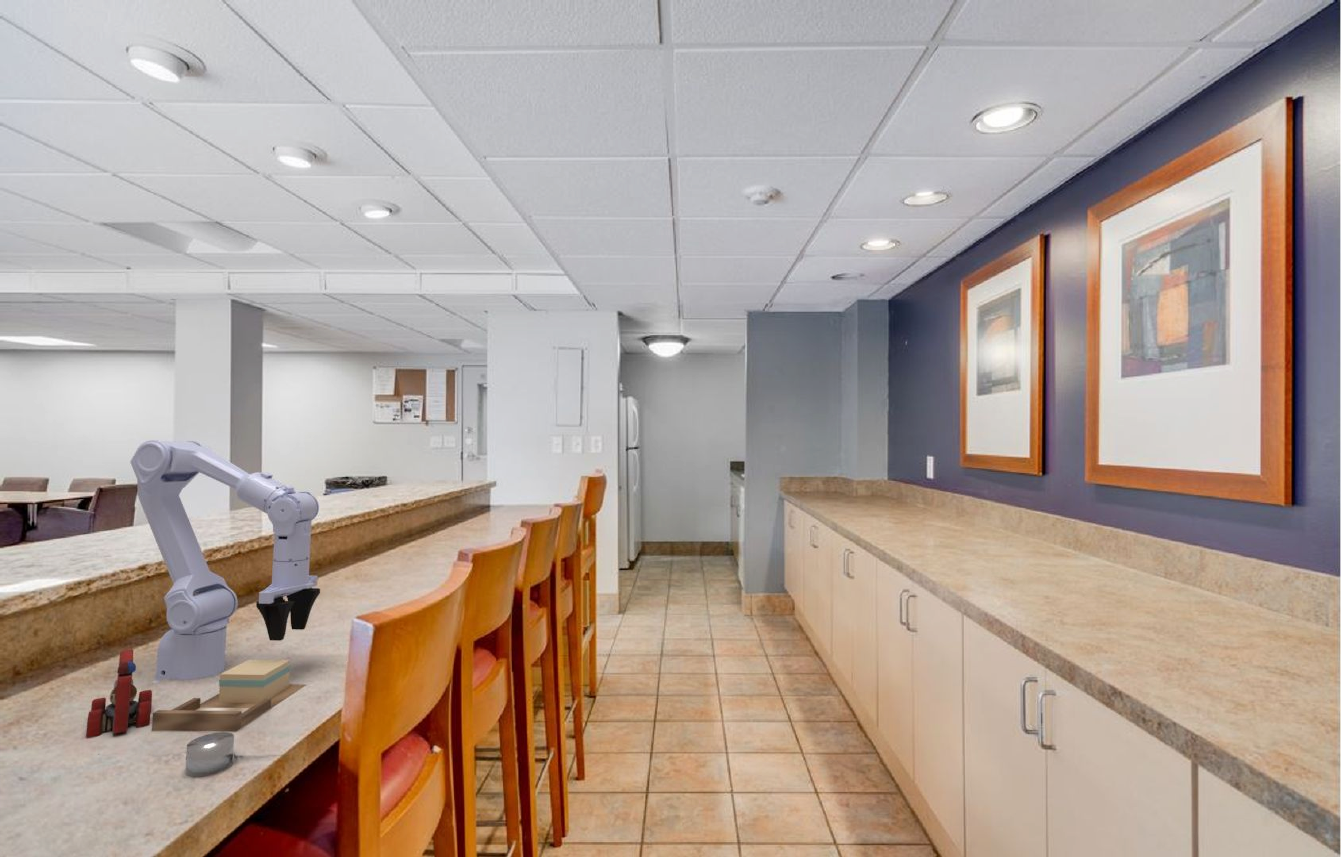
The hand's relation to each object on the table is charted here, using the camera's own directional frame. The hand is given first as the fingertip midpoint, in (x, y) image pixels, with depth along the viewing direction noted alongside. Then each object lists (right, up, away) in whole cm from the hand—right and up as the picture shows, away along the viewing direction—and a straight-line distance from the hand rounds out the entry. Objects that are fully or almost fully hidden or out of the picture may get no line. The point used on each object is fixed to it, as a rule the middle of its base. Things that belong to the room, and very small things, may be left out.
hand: (287, 634), depth 110 cm
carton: (0, -7, -9) cm, 11 cm away
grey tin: (+9, -7, -30) cm, 32 cm away
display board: (0, -8, -13) cm, 15 cm away
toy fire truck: (-13, -8, -20) cm, 25 cm away
